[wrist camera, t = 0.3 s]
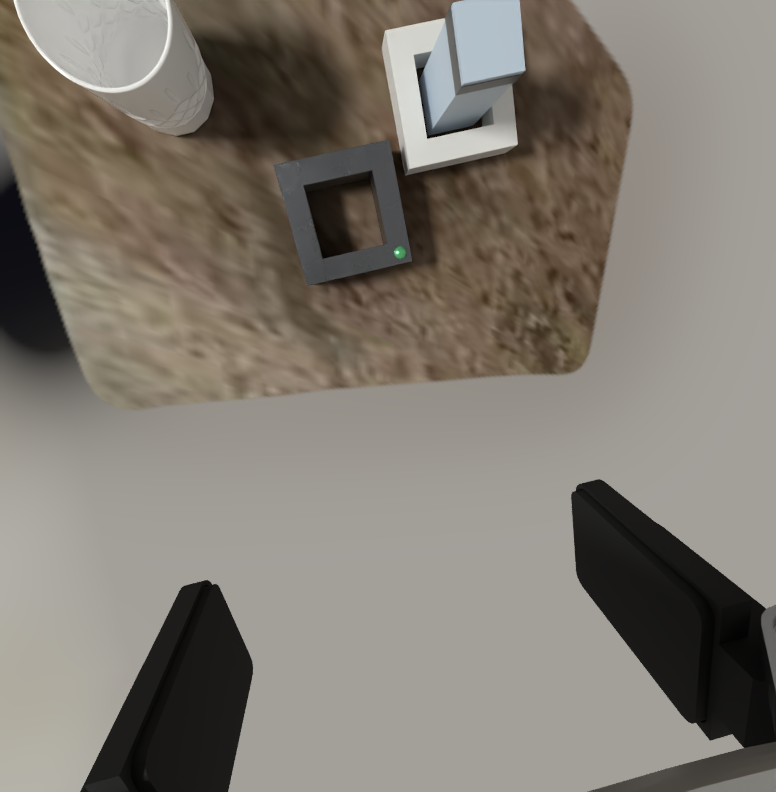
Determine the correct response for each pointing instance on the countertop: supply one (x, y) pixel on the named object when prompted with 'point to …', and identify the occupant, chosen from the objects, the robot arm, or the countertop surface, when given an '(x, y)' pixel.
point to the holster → (418, 153)
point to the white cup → (126, 57)
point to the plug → (472, 63)
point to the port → (337, 171)
